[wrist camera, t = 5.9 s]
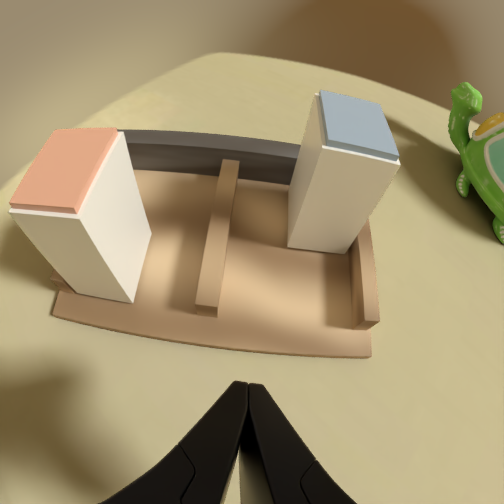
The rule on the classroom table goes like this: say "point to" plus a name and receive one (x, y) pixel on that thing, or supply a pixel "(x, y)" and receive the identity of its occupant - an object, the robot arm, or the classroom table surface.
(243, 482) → the robot arm
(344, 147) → the blue-topped cream block
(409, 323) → the classroom table surface
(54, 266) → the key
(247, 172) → the wooden divided tray
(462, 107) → the turtle holder
